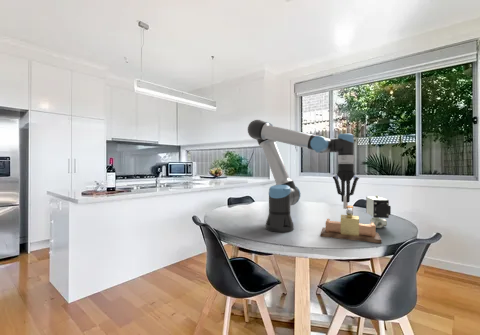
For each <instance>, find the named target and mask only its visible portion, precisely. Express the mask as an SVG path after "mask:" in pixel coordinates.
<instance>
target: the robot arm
mask: <svg viewBox="0 0 480 335" xmlns="http://www.w3.org/2000/svg"><path fill="white" fill-rule="evenodd" d="M247 133H248V136H249V137H250V138H251V139H253V140H256V141H257V144H258V146H259V147H261V148H262V150H263V153H264V155H265V158H266V161H267V163H268V166H269V169H270V172H271V173H272V176H273V179H274V182H275V185H272V186H270V187H269V189H268V216H267V219H266V222H265V229H266V230H268V231H270V232H275V233H286V232H287V233H288V232H293V231H294V230H295V229H294V228H295V226H294V222H293V219H292V216H291V206H294V205H296V204H297V203H298V202H299V201H300V199H301V191H300V189H299V187H297V186H296V184H295V182H294V180H293V179H291V177H290V175H289V174H288V171H287V168H286V166H285V163H284V160H283V158H282V156H281V153H280V151H279V148H278V145H277V143H279V142H280V143H283V144H286V145H287V144H288V145H291V146H295V147H296V146H297V147H299V148H303V149H307V150H312V151H315V153H318V154H327V153H337V162H338V164H337V173H336V175H334V176H333V177H332V179H333V180H334V183H335V186H336V187H335V188H336V192H337V194H338V195H340V196H341V203H343V207H342V208H343V209H346V210H347V207H348V206H349V204H348V203H350V196H353V195H354V194H355V190H356V186H357V184H358V181H359V179H360V177H359V176H356V174H355V172H354V169H355V167H354V166H355V165H354V161H355V160H354V159H355V158H354V157H355V156H354V152H355V151H354V150H355V141H354V138H355V137H354V134H352V133H339V134H338V136H337V137H336V138H327V137H325V136H322V135H315V134H311V133H306V132H303V131H302V132H301V131H297V130H293V129H288V128H284V127H279V126H274V125H273V124H272V123H270V122H268V121H263V120H261V119H254V120H251V121H250V123H249V124H248V125H247ZM339 179H340V181H339ZM352 180H353V182H352V184H351V181H352Z"/></svg>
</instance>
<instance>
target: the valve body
mask: <svg viewBox="0 0 480 335" xmlns="http://www.w3.org/2000/svg"><path fill="white" fill-rule="evenodd" d="M325 228H326V232H338V233H341V234H342V235H352V236H359V235H367V236H372V237H375V236H376V233H377V232H376V227H375V225H374V223H371V222H370V223H360V216H359V215H354V214H353V215H348V214H340V221H337V220H331V219H330V218H326V221H325Z"/></svg>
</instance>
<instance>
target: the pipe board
mask: <svg viewBox="0 0 480 335" xmlns="http://www.w3.org/2000/svg"><path fill="white" fill-rule="evenodd" d="M322 236H323V238H331V237H332V238H334V239H341V240H348V239H349V240H351V241H357V240H359V241H360V242H366V241H367V242H369V243H376V244H382V241H383V240H382V238H381V236H380V234H379V232H376V236H375V237H372V236H367V235H359V236H352V235H342V234H341V233H338V232H326V227H322V228H321V231H320V237H322ZM367 242H366V243H367Z"/></svg>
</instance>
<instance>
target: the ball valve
mask: <svg viewBox="0 0 480 335" xmlns="http://www.w3.org/2000/svg"><path fill="white" fill-rule="evenodd" d="M365 198H366V199H365V200H366V201H365V206H366V208H365V211H366V212H365V213H367V214H368V215H370V216H371V219H370V224H371V223H374V225H375V227H376V228H377V229H382V228H384V227H387V225H388V221H387V220H386V219H389V217H390V216H391V215H392V214H391V211H392V210H391V209H392V208H391V205H390V202H389V199H387V198H384V197H381V196H379V195H378V194H375V196H365Z"/></svg>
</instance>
